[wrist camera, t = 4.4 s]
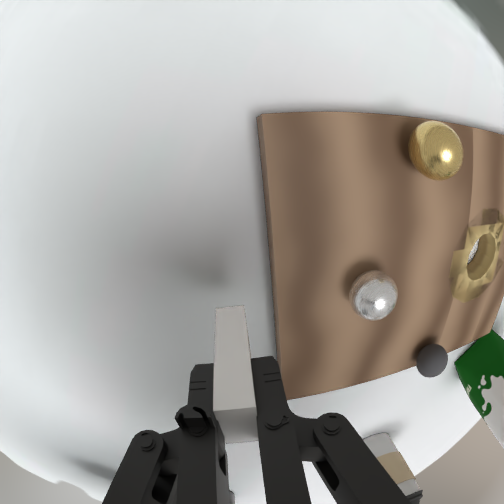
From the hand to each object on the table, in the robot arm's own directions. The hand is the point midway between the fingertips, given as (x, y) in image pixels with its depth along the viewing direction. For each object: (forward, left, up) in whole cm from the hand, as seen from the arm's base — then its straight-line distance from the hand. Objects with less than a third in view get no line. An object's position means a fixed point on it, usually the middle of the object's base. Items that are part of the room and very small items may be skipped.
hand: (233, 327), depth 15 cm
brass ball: (+13, +9, -1) cm, 16 cm away
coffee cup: (+17, -33, -5) cm, 38 cm away
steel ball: (+9, 0, -1) cm, 9 cm away
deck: (+16, 0, -5) cm, 17 cm away
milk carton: (+32, -18, -5) cm, 37 cm away
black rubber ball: (+17, -9, -1) cm, 19 cm away
